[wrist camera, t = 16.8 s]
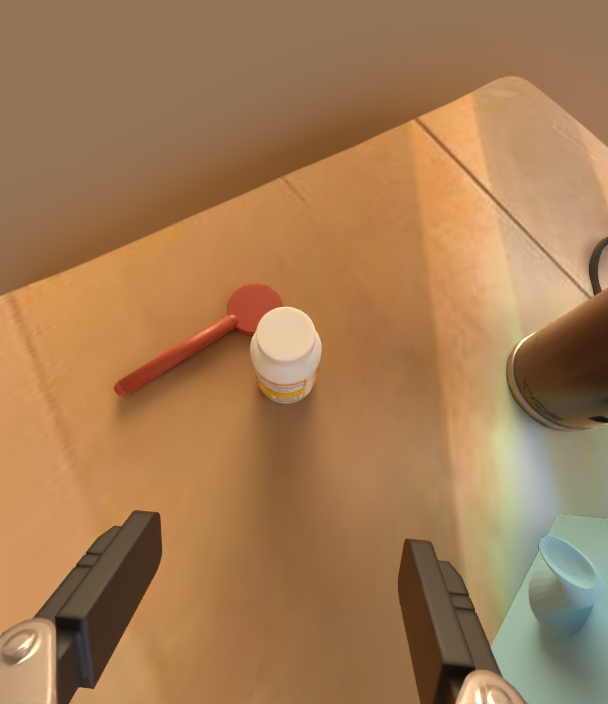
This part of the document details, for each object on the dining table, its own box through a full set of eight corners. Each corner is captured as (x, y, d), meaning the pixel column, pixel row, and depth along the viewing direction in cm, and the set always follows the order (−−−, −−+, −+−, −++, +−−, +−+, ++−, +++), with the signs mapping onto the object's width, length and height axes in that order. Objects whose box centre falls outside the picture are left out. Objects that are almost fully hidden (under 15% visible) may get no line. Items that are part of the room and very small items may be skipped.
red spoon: (132, 417, 31) (125, 414, 30) (106, 371, 32) (98, 366, 31) (292, 317, 35) (292, 310, 33) (263, 279, 36) (262, 271, 35)
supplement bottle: (285, 416, 31) (283, 389, 22) (245, 374, 33) (227, 332, 24) (328, 375, 33) (342, 334, 24) (287, 337, 34) (286, 283, 25)
